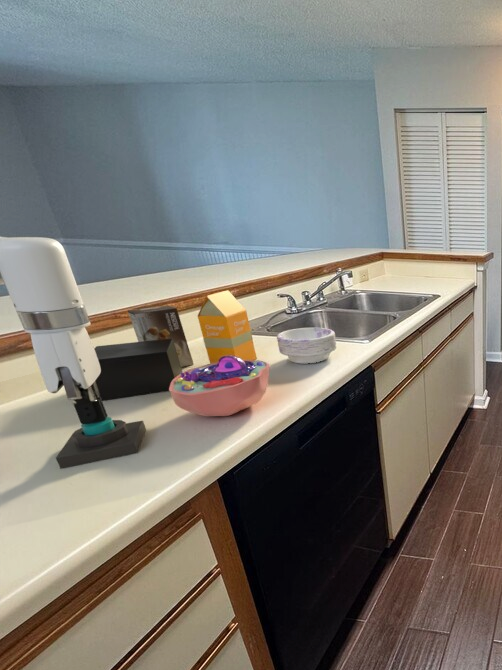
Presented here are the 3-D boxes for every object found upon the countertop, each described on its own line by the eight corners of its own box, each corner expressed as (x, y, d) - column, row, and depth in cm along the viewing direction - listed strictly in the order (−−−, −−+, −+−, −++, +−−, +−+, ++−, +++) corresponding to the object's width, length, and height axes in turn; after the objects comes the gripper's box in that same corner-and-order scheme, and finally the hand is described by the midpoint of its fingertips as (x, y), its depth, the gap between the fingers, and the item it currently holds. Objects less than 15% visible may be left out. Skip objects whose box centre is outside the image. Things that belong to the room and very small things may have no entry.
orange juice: (257, 358, 123) (242, 289, 116) (238, 369, 115) (221, 295, 108) (231, 357, 123) (214, 289, 116) (210, 368, 115) (190, 294, 108)
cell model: (154, 427, 84) (136, 374, 80) (229, 389, 102) (218, 344, 98) (230, 434, 82) (216, 380, 78) (294, 394, 100) (285, 348, 96)
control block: (60, 469, 70) (51, 448, 69) (77, 442, 78) (69, 423, 76) (137, 453, 75) (130, 433, 74) (146, 430, 83) (140, 411, 81)
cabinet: (97, 401, 94) (81, 361, 91) (110, 383, 104) (96, 346, 101) (178, 389, 102) (166, 351, 98) (182, 373, 111) (172, 338, 108)
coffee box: (185, 360, 121) (169, 304, 115) (194, 364, 117) (178, 307, 111) (146, 368, 114) (126, 309, 108) (153, 373, 111) (134, 313, 105)
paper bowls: (347, 352, 130) (343, 327, 127) (321, 369, 116) (317, 341, 113) (300, 349, 132) (296, 325, 129) (269, 366, 118) (264, 338, 115)
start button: (81, 438, 73) (78, 429, 72) (88, 428, 76) (84, 420, 75) (112, 432, 75) (109, 423, 74) (117, 423, 78) (114, 415, 77)
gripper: (39, 311, 71) (78, 409, 78) (1, 332, 60) (51, 444, 67) (98, 307, 75) (130, 401, 82) (74, 326, 63) (113, 433, 70)
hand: (95, 420), depth 74 cm, fingers closed
